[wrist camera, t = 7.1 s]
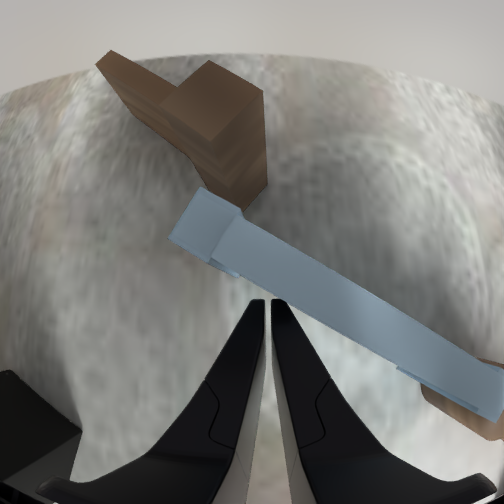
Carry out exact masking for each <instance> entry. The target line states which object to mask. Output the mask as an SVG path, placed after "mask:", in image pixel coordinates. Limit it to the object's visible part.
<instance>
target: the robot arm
mask: <svg viewBox="0 0 504 504" xmlns="http://www.w3.org/2000/svg"><path fill="white" fill-rule="evenodd" d="M271 340H272V368H273V376H274V383H275V389H276V396H277V403H278V410H279V417H280V424H281V431H282V437H283V444H284V451H285V458H286V465H287V472H288V479H289V486H290V493H291V500H292V504H473V503H475V502H477V501H479V500H481V499H483V498H486V497H488V496H490V495H492V494H494V493H495V492H497V488H496V487H495V485H494V484H493V483H492V482H491V481H490V480H489V479H488V478H487V477H485V476H484V475H483V474H481V473H477V474H474V475H471V476H469V477H466V478H463V479H461V480H458V481H442V480H439V479H437V478H435V477H433V476H431V475H429V474H427V473H425V472H423V471H421V470H419V469H418V468H416V467H414V466H412V465H410V464H408V463H407V462H405V461H403V460H401V459H399V458H398V457H396V456H394V455H393V454H391V453H390V452H389V451H388V450H386V449H385V448H384V447H383V446H382V445H381V443H380V442H379V441H378V440H377V439H376V438H375V436H374V435H373V434H372V433H371V431H370V430H369V429H368V428H367V427H366V425H365V424H364V423H363V422H362V420H361V419H360V418H359V417H358V416H357V414H356V413H355V412H354V410H353V409H352V408H351V406H350V405H349V404H348V402H347V401H346V400H345V398H344V397H343V395H342V394H341V392H340V390H339V389H338V387H337V386H336V384H335V382H334V381H333V379H332V378H331V376H330V374H329V373H328V371H327V369H326V368H325V366H324V364H323V363H322V361H321V359H320V358H319V356H318V354H317V352H316V351H315V349H314V347H313V346H312V344H311V342H310V341H309V339H308V337H307V336H306V334H305V332H304V331H303V329H302V327H301V326H300V324H299V322H298V321H297V319H296V317H295V316H294V314H293V312H292V311H291V309H290V307H289V306H288V304H287V302H285V301H283V300H282V299H272V300H271ZM265 369H266V313H265V300H264V299H253V300H251V301H250V303H249V305H248V306H247V308H246V310H245V311H244V313H243V315H242V317H241V318H240V320H239V322H238V323H237V325H236V327H235V328H234V330H233V332H232V333H231V335H230V337H229V339H228V340H227V342H226V344H225V345H224V347H223V349H222V350H221V352H220V354H219V355H218V357H217V359H216V360H215V362H214V364H213V365H212V367H211V369H210V370H209V372H208V374H207V375H206V377H205V380H203V382H202V383H201V385H200V387H199V388H198V390H197V391H196V393H195V394H194V396H193V397H192V399H191V400H190V402H189V403H188V405H187V406H186V407H185V409H184V410H183V411H182V412H181V414H180V415H179V416H178V417H177V419H176V420H175V421H174V422H173V423H172V425H171V426H170V427H169V428H168V429H167V431H166V432H165V433H164V434H163V435H162V437H161V438H160V439H159V440H158V441H157V442H156V444H155V445H154V446H153V447H152V448H151V449H150V450H149V451H148V452H146V453H145V454H144V455H142V456H141V457H139V458H137V459H136V460H134V461H132V462H130V463H128V464H126V465H124V466H122V467H120V468H118V469H116V470H114V471H112V472H110V473H108V474H106V475H104V476H102V477H100V478H98V479H96V480H93V481H90V482H85V483H77V482H73V481H70V480H67V479H65V478H62V477H59V476H56V475H52V476H50V477H49V478H47V479H46V480H44V481H43V482H42V483H41V484H40V485H39V486H38V487H37V488H36V490H35V493H37V494H38V495H40V496H42V497H45V498H47V499H49V500H51V501H53V502H56V503H58V504H245V503H246V497H247V491H248V485H249V484H248V483H249V479H250V473H251V466H252V460H253V453H254V447H255V440H256V434H257V427H258V420H259V413H260V406H261V399H262V392H263V384H264V377H265ZM0 504H46V503H43V502H41V501H39V500H37V499H35V498H33V497H31V496H29V495H27V494H25V493H23V492H21V491H19V490H17V489H15V488H14V487H12V486H10V485H8V484H6V483H4V482H2V481H0ZM485 504H504V494H503V495H501V496H499V497H497V498H495V499H493V500H491V501H489V502H487V503H485Z"/></svg>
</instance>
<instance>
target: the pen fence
mask: <svg viewBox="0 0 504 504" xmlns="http://www.w3.org/2000/svg"><path fill="white" fill-rule="evenodd" d="M95 65H96V66H97V68H98V69H99V70H100V72H101V73H102V74H103V76H104V77H105V78H106V80H107V81H108V82H109V84H110V85H111V86H112V88H113V89H114V90H115V92H116V93H117V94H118V96H119V97H120V98H121V100H122V101H123V102H124V104H125V105H126V106H127V108H128V109H129V110H130V112H131V113H132V114H133V115H134V116H135V117H136V118H138V119H139V120H140V121H142V122H143V123H144V124H146V125H147V126H148V127H150V128H151V129H152V130H154V131H155V132H156V133H158V134H159V135H160V136H162V137H163V138H164V139H166V140H167V141H168V142H170V143H171V144H172V145H174V146H175V147H176V148H178V149H179V150H180V151H181V152H183V153H184V154H185V155H187V156H188V157H189V158H190V159H191V161H192V163H193V164H194V166H195V168H196V169H197V171H198V173H199V174H200V176H201V178H202V179H203V181H204V183H205V184H206V186H207V188H208V189H209V191H211V192H212V193H213V194H215V195H217V196H219V197H220V198H222V199H224V200H226V201H228V202H230V203H231V204H233V205H235V206H237V207H238V208H240V209H241V211H242V212H243V211H244V210H245V209H246V208H247V207H248V206H249V205H250V203H251V202H252V201H253V200H254V199H255V198H256V197H257V196H258V194H259V193H260V192H261V191H262V190H263V189H264V188H265V187H266V185H267V163H266V141H265V121H264V102H263V91H262V90H261V89H259V88H258V87H256V86H254V85H253V84H251V83H249V82H247V81H246V80H244V79H242V78H241V77H239V76H237V75H235V74H234V73H232V72H230V71H228V70H226V69H225V68H223V67H221V66H219V65H217V64H215V63H213V62H212V61H210V60H208V61H207V62H206V63H205V64H204V65H202V66H201V67H200V68H199V69H198V70H197V71H195V72H194V73H193V74H192V75H191V76H190V77H189V78H187V79H186V80H185V81H184V82H183V83H182V84H181V85H180V86H179V87H176V86H174V85H172V84H171V83H169V82H167V81H166V80H164V79H162V78H161V77H159V76H157V75H155V74H154V73H152V72H150V71H149V70H147V69H145V68H143V67H141V66H140V65H138V64H136V63H134V62H133V61H131V60H129V59H127V58H125V57H123V56H121V55H120V54H117V53H116V52H114V51H112V50H110V51H109V52H108V53H107V54H106V55H105V56H104V57H102V59H100V60H99V61H98V62H97V63H96V64H95ZM473 357H474V356H473ZM475 358H476V359H478V360H479V361H481V362H483V363H486V364H490V365H493V366H497V367H500V368H502V369H503V370H504V364H500V363H496V362H492V361H489V360H485V359H481V358H478V357H475ZM421 390H422V394H423V396H424V398H425V399H426V400H427V401H428V402H429V403H431V404H432V405H434V406H435V407H437V408H438V409H440V410H441V411H443V412H444V413H446V414H447V415H449V416H450V417H452V418H454V419H455V420H457V421H458V422H460V423H461V424H463V425H464V426H466V427H467V428H469V429H471V430H472V431H474V432H475V433H477V434H478V435H480V436H482V437H483V438H485V439H486V440H489V441H495V440H498V439H502V440H503V441H504V410H503V411H502V413H501V415H500V417H499V419H498V420H497V422H496V423H494V422H492V421H490V420H488V419H486V418H484V417H482V416H480V415H478V414H476V413H474V412H472V411H470V410H469V409H467V408H465V407H463V406H461V405H459V404H458V403H456V402H454V401H452V400H450V399H449V398H447V397H445V396H443V395H441V394H440V393H438V392H436V391H434V390H433V389H431V388H429V387H427V386H426V385H424V384H422V383H421Z"/></svg>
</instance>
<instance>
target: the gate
mask: <svg viewBox="0 0 504 504" xmlns="http://www.w3.org/2000/svg"><path fill="white" fill-rule="evenodd" d="M167 239H169V240H170V241H172V242H174V243H175V244H177V245H178V246H180V247H182V248H183V249H185V250H186V251H188V252H190V253H191V254H193V255H194V256H196V257H198V258H199V259H201V260H203V261H204V262H206V263H207V264H210V265H212V266H214V267H216V268H218V269H220V270H222V271H224V272H226V273H228V274H230V275H232V276H234V277H237V278H238V277H239V276H240V275H241V276H242V277H244V278H246V279H247V280H249V281H251V282H253V283H254V284H256V285H258V286H259V287H261V288H263V289H264V290H266V291H268V292H269V293H271V294H273V295H275V296H276V297H278V298H280V299H282V300H283V301H285V302H287V303H288V304H290V305H292V306H293V307H295V308H297V309H298V310H300V311H302V312H304V313H305V314H307V315H309V316H311V317H312V318H314V319H316V320H318V321H319V322H321V323H323V324H325V325H326V326H328V327H330V328H332V329H333V330H335V331H337V332H339V333H340V334H342V335H344V336H346V337H347V338H349V339H351V340H353V341H354V342H356V343H358V344H360V345H362V346H363V347H365V348H367V349H369V350H371V351H372V352H374V353H376V354H378V355H380V356H381V357H383V358H385V359H387V360H389V361H390V362H392V363H394V364H396V365H398V366H397V368H396V369H398V370H399V371H401V372H403V373H405V374H406V375H408V376H410V377H411V378H413V379H415V380H417V381H418V382H420V383H422V384H424V385H426V386H427V387H429V388H431V389H433V390H434V391H436V392H438V393H440V394H441V395H443V396H445V397H447V398H449V399H450V400H452V401H454V402H456V403H458V404H459V405H461V406H463V407H465V408H467V409H469V410H470V411H472V412H474V413H476V414H478V415H480V416H482V417H484V418H486V419H488V420H490V421H492V422H494V423H496V422H497V420H498V419H499V417H500V415H501V413H502V411H503V410H504V370H503V369H502V368H500V367H497V366H493V365H490V364H486V363H483V362H481V361H479V360H478V359H476V358H475V357H473V356H472V355H470V354H468V353H467V352H465V351H464V350H462V349H461V348H459V347H457V346H456V345H454V344H453V343H451V342H450V341H448V340H446V339H445V338H443V337H442V336H440V335H438V334H437V333H435V332H434V331H432V330H431V329H429V328H427V327H426V326H424V325H422V324H421V323H419V322H418V321H416V320H414V319H413V318H411V317H410V316H408V315H406V314H405V313H403V312H401V311H400V310H398V309H397V308H395V307H393V306H392V305H390V304H388V303H387V302H385V301H383V300H382V299H380V298H379V297H377V296H375V295H374V294H372V293H370V292H369V291H367V290H365V289H364V288H362V287H360V286H359V285H357V284H355V283H354V282H352V281H350V280H349V279H347V278H345V277H344V276H342V275H340V274H339V273H337V272H335V271H334V270H332V269H330V268H328V267H327V266H325V265H323V264H322V263H320V262H318V261H317V260H315V259H313V258H311V257H310V256H308V255H306V254H305V253H303V252H301V251H299V250H298V249H296V248H294V247H293V246H291V245H289V244H287V243H286V242H284V241H282V240H281V239H279V238H277V237H275V236H274V235H272V234H270V233H268V232H267V231H265V230H263V229H261V228H260V227H258V226H256V225H254V224H253V223H251V222H249V221H247V220H246V219H244V217H243V214H242V211H241V209H240V208H238V207H237V206H235V205H233V204H231V203H230V202H228V201H226V200H224V199H222V198H220V197H219V196H217V195H215V194H213V193H211V192H210V191H208V190H206V189H204V188H202V187H199V189H198V190H197V192H196V193H195V195H194V197H193V198H192V200H191V201H190V203H189V204H188V206H187V208H186V209H185V211H184V212H183V214H182V216H181V217H180V219H179V220H178V222H177V224H176V225H175V227H174V229H173V230H172V232H171V233H170V235H169V237H168V238H167Z"/></svg>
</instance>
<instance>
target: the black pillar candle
mask: <svg viewBox="0 0 504 504" xmlns="http://www.w3.org/2000/svg"><path fill="white" fill-rule="evenodd" d="M81 435H82V430H81V429H79V428H78V427H77V426H75V425H74V424H73V423H72V422H71V421H69V420H68V419H67V418H65V417H64V416H63V415H61V414H60V413H59V412H58V411H57V410H55V409H54V408H53V407H52V406H50V405H49V404H48V403H47V402H46V401H44V400H43V399H42V398H41V397H40V396H39V395H38V394H36V393H35V392H34V391H33V390H32V389H31V388H30V387H29V386H28V385H27V384H25V383H24V382H23V381H22V379H21V378H19V377H18V376H17V375H16V374H15V373H14V372H13V371H11V370H6V371H1V372H0V481H2V482H4V483H6V484H8V485H10V486H12V487H14V488H15V489H17V490H19V491H21V492H23V493H25V494H27V495H29V496H31V497H33V498H35V499H37V500H39V501H41V502H43V503H46V504H53V503H54V502H53V501H51V500H49V499H47V498H45V497H42V496H40V495H38V494H37V493H35V490H36V488H37V487H38V486H39V485H40V484H41V483H42V482H43V481H44V480H46V479H47V478H49V477H50V476H52V475H56V476H59V477H62V478H65V479H67V480H69V479H70V475H71V471H72V467H73V464H74V460H75V456H76V453H77V449H78V445H79V442H80V439H81Z"/></svg>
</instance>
